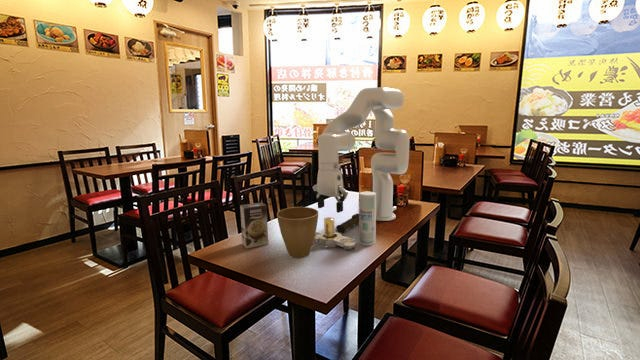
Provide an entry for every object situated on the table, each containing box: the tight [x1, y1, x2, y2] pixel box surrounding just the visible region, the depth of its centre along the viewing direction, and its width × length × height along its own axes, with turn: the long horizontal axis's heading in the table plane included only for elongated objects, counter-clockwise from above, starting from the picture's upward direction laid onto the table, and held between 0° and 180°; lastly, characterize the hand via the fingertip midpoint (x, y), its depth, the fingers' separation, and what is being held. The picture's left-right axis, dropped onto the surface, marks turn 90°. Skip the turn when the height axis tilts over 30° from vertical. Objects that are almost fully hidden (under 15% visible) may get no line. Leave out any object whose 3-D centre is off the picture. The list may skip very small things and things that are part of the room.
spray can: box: [358, 190, 377, 246], centre depth 137 cm, size 6×6×20 cm
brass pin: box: [323, 216, 335, 238], centre depth 139 cm, size 4×4×10 cm
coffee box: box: [239, 202, 269, 249], centre depth 139 cm, size 9×6×16 cm
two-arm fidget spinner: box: [313, 231, 357, 251], centre depth 140 cm, size 9×24×3 cm, turn 47°
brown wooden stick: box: [335, 213, 359, 234], centre depth 158 cm, size 19×4×5 cm, turn 145°
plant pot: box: [276, 206, 319, 259], centre depth 128 cm, size 15×15×16 cm
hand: (330, 209), depth 138 cm, fingers open, 9 cm apart
